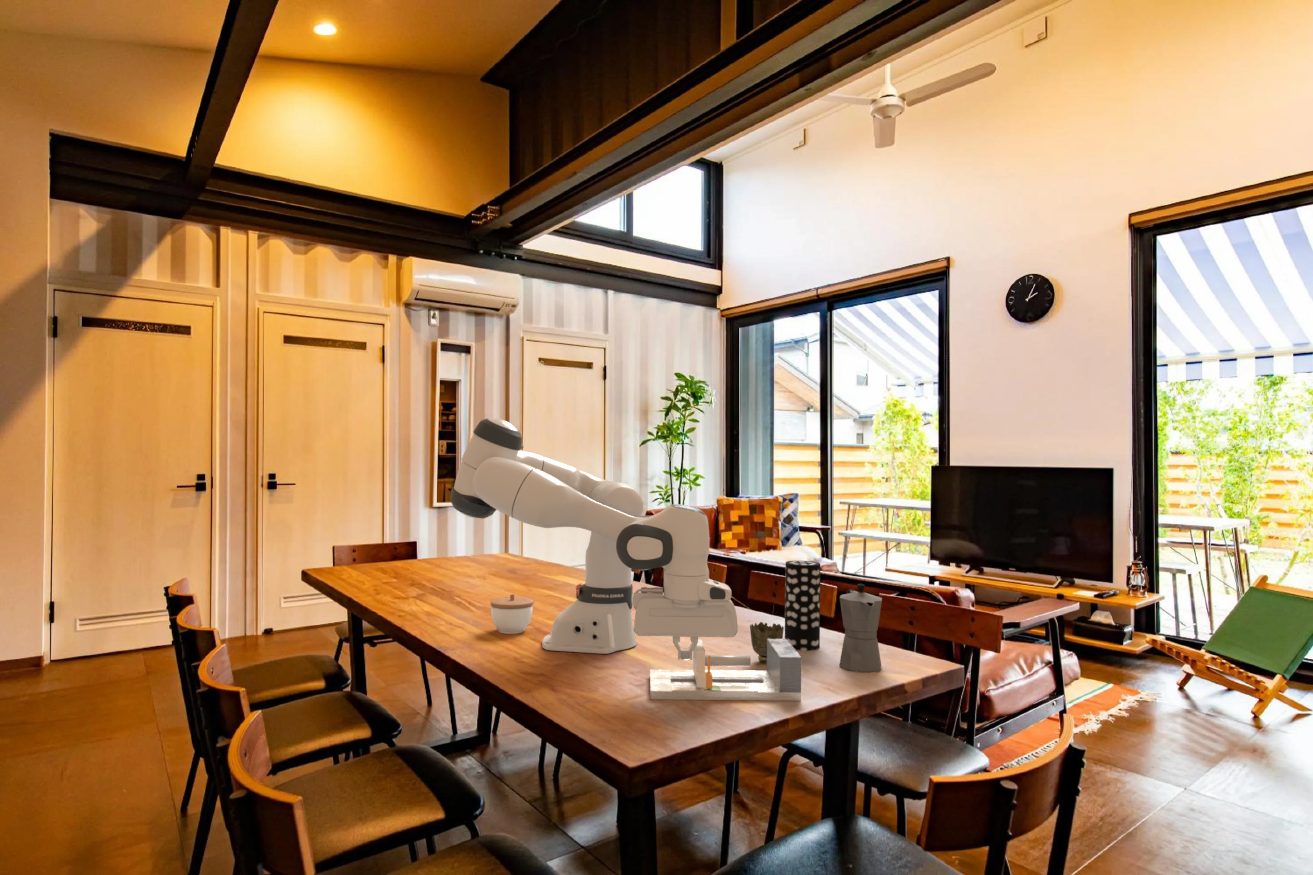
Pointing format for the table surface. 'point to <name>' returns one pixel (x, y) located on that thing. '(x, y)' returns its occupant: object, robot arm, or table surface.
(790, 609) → the spotted tube
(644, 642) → the table surface
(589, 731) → the table surface
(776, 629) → the cup
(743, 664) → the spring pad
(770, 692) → the gauge base
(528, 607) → the lidded jar
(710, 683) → the orange t-shaped block
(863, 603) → the coffeepot
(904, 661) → the table surface
